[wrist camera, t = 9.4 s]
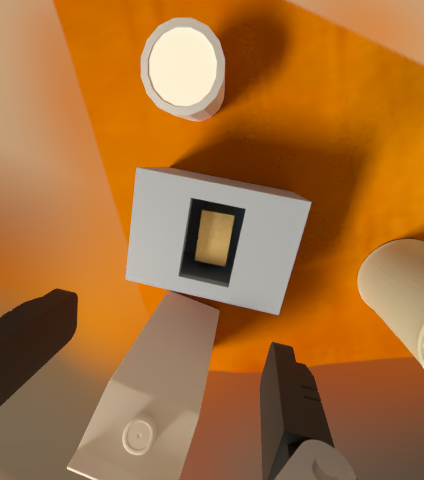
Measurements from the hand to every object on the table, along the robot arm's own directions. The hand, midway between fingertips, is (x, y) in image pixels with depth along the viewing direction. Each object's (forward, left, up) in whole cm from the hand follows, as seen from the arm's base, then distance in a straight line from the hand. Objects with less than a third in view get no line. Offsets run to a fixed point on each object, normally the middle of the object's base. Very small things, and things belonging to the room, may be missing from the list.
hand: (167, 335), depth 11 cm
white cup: (+5, -13, -21) cm, 26 cm away
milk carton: (+2, +14, -21) cm, 26 cm away
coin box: (0, 0, -21) cm, 21 cm away
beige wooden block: (0, 0, -20) cm, 20 cm away
